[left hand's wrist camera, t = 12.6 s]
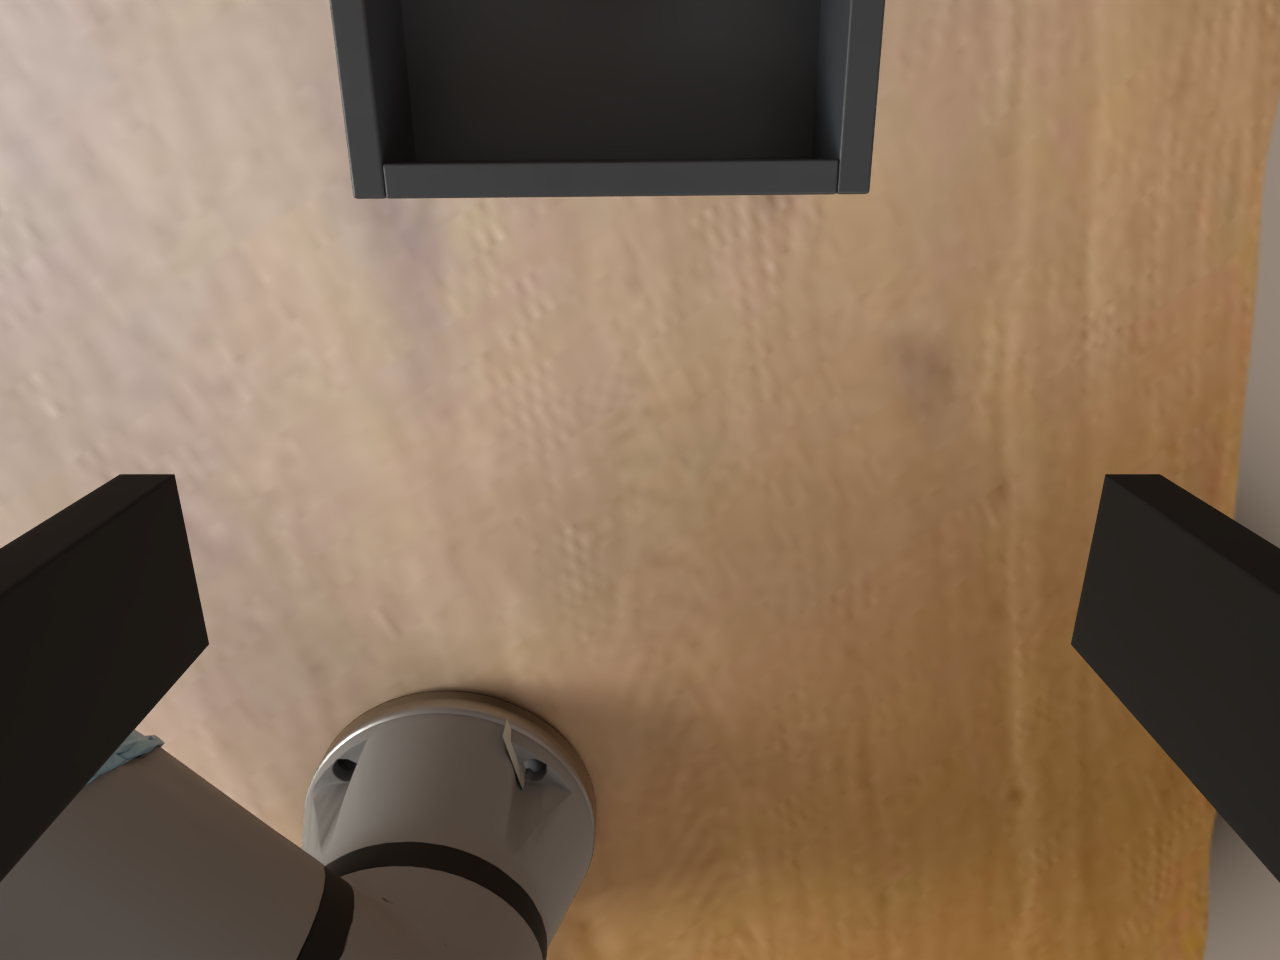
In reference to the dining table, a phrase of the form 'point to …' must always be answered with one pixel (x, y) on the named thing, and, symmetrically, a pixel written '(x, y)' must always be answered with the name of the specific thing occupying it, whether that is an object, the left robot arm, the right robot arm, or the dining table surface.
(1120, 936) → the dining table surface
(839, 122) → the tray
